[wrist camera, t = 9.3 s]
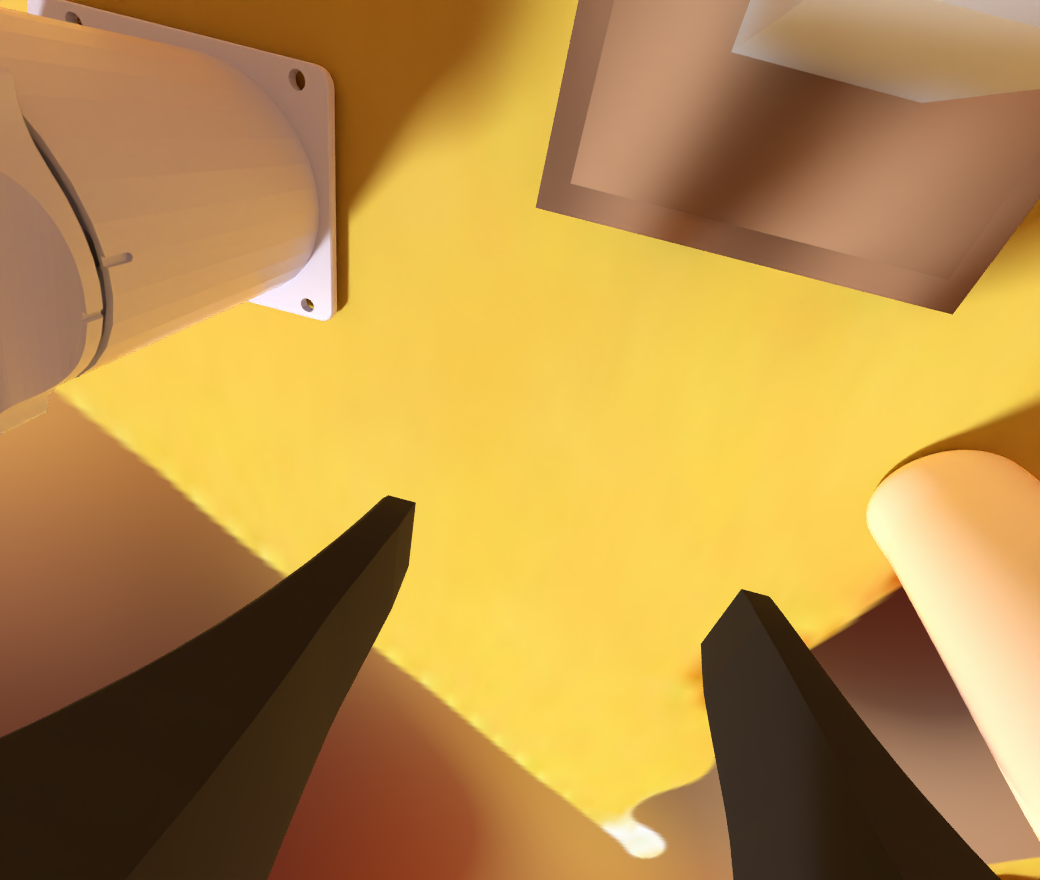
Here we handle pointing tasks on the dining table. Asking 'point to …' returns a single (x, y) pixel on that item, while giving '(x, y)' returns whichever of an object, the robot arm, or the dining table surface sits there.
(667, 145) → the walnut plinth
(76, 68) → the robot arm
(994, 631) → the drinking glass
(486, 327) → the dining table surface
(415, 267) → the dining table surface
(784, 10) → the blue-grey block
